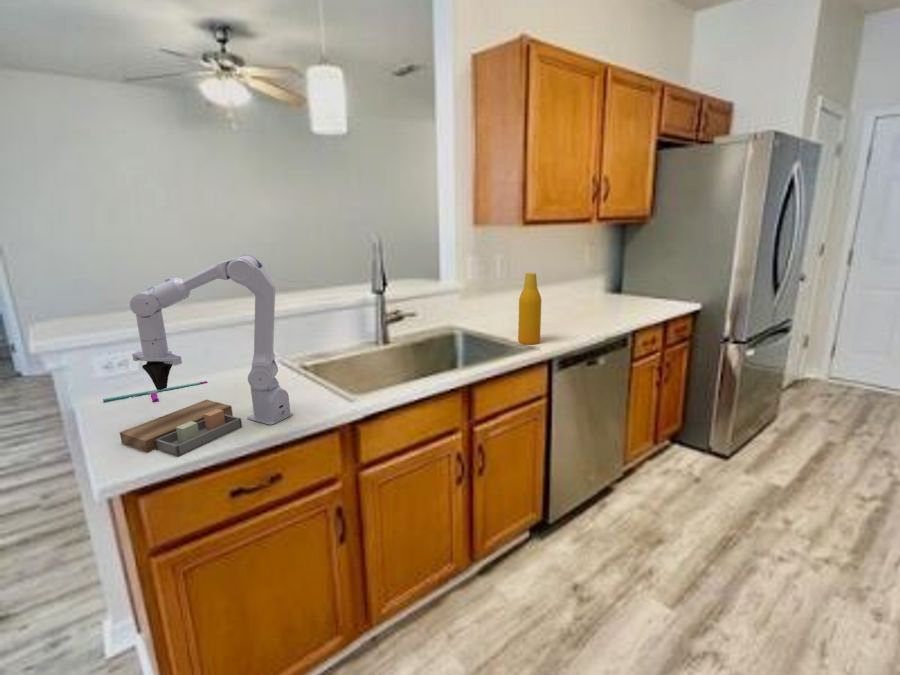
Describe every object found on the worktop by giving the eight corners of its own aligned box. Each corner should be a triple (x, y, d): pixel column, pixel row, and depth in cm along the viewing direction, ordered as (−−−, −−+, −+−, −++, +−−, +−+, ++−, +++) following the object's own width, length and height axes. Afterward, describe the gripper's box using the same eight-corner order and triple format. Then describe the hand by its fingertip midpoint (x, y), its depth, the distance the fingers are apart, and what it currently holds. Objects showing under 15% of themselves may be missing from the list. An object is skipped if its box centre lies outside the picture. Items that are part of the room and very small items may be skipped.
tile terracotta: (219, 422, 132) (225, 424, 131) (205, 428, 129) (212, 430, 128) (217, 408, 131) (223, 410, 130) (203, 414, 128) (210, 415, 127)
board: (232, 415, 138) (231, 405, 137) (147, 452, 117) (145, 441, 117) (207, 409, 143) (206, 399, 142) (121, 443, 122) (119, 432, 121)
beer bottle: (543, 340, 210) (545, 272, 203) (535, 346, 202) (537, 275, 195) (523, 338, 215) (524, 271, 207) (514, 343, 207) (515, 274, 200)
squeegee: (103, 408, 141) (102, 398, 149) (104, 413, 142) (103, 403, 150) (212, 388, 157) (206, 380, 165) (213, 393, 158) (207, 385, 166)
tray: (241, 427, 130) (240, 418, 130) (178, 456, 115) (176, 446, 114) (221, 421, 134) (219, 412, 134) (156, 449, 119) (154, 439, 118)
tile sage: (192, 435, 125) (199, 437, 124) (178, 442, 121) (185, 444, 120) (190, 421, 124) (197, 422, 123) (175, 427, 120) (182, 429, 119)
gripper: (187, 336, 128) (195, 386, 131) (146, 332, 132) (154, 380, 136) (164, 343, 121) (173, 395, 125) (121, 339, 126) (130, 389, 129)
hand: (161, 388), depth 130 cm, fingers closed
